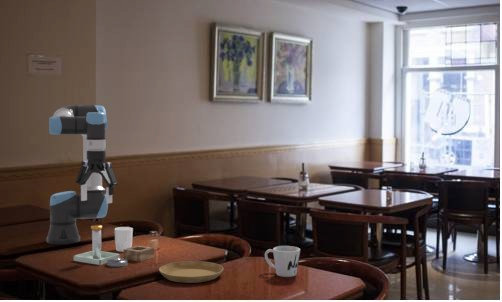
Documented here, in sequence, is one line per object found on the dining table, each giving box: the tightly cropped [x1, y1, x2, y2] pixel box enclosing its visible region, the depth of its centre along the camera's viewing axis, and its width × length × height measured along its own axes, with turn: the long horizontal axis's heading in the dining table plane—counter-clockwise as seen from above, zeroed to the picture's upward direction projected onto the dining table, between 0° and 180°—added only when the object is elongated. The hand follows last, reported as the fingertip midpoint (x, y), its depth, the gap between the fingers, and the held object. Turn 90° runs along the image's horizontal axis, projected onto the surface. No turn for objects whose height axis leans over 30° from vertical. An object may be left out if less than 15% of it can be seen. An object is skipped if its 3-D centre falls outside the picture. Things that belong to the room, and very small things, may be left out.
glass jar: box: [90, 224, 103, 260], centre depth 257 cm, size 5×5×14 cm
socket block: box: [122, 245, 155, 262], centre depth 261 cm, size 9×9×4 cm
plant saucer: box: [158, 260, 224, 284], centre depth 235 cm, size 24×24×3 cm
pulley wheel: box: [106, 257, 129, 268], centre depth 250 cm, size 8×8×3 cm
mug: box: [264, 245, 301, 278], centre depth 240 cm, size 10×15×10 cm
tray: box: [73, 250, 121, 266], centre depth 257 cm, size 14×12×2 cm
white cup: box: [114, 226, 134, 252], centre depth 276 cm, size 8×8×10 cm
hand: (96, 201), depth 256 cm, fingers open, 13 cm apart
